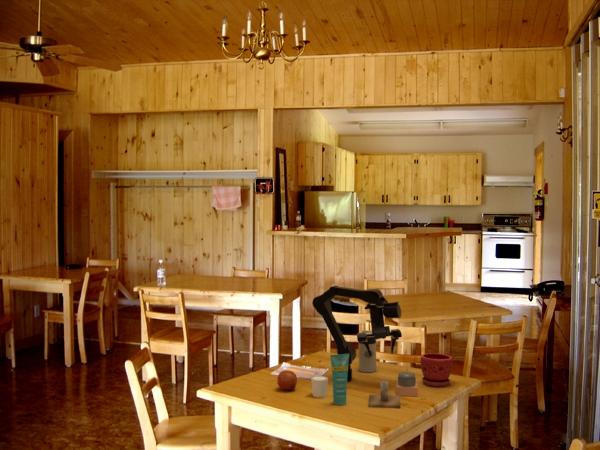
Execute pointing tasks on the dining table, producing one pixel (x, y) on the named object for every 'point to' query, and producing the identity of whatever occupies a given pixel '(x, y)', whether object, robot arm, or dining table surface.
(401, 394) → the stand
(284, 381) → the apple
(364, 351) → the travel mug
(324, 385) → the shot glass
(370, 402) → the square base plate
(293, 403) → the dining table surface
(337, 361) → the tube
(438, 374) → the plant pot
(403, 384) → the cap
